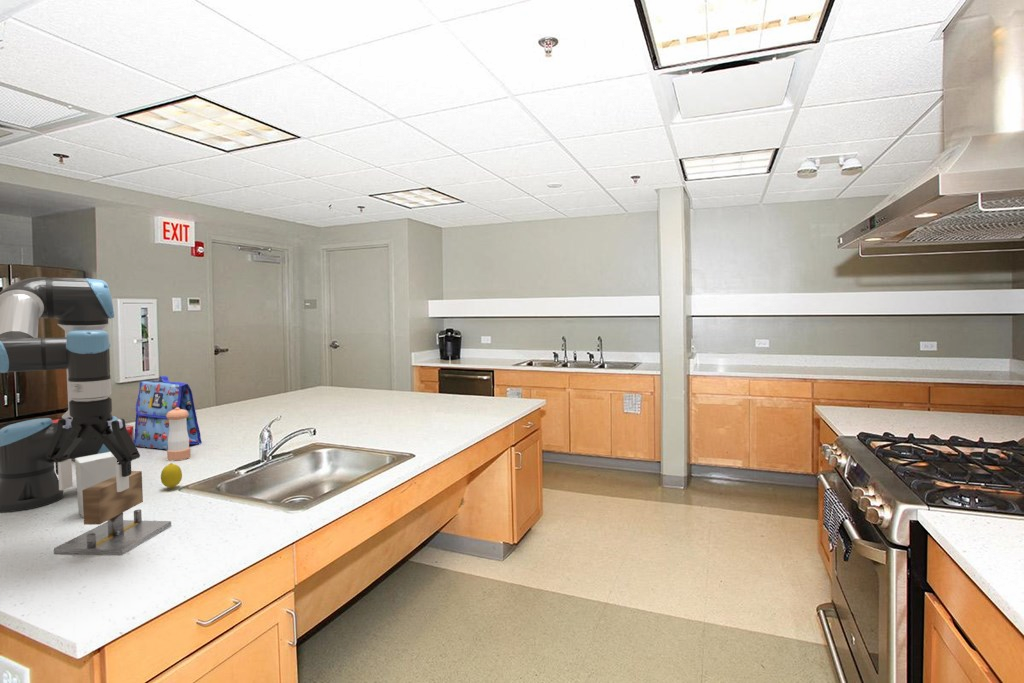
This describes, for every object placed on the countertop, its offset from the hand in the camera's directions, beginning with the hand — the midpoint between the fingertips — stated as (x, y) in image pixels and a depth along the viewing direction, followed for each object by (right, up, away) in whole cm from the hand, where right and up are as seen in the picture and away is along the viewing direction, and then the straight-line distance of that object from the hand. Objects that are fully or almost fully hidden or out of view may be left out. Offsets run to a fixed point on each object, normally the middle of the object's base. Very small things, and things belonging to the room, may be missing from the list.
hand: (94, 489), depth 119 cm
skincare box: (-17, -13, +23) cm, 31 cm away
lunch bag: (-45, -9, +92) cm, 103 cm away
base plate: (0, -14, +6) cm, 15 cm away
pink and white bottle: (-28, -10, +74) cm, 80 cm away
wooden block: (0, -7, +6) cm, 9 cm away
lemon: (-9, -12, +41) cm, 44 cm away
